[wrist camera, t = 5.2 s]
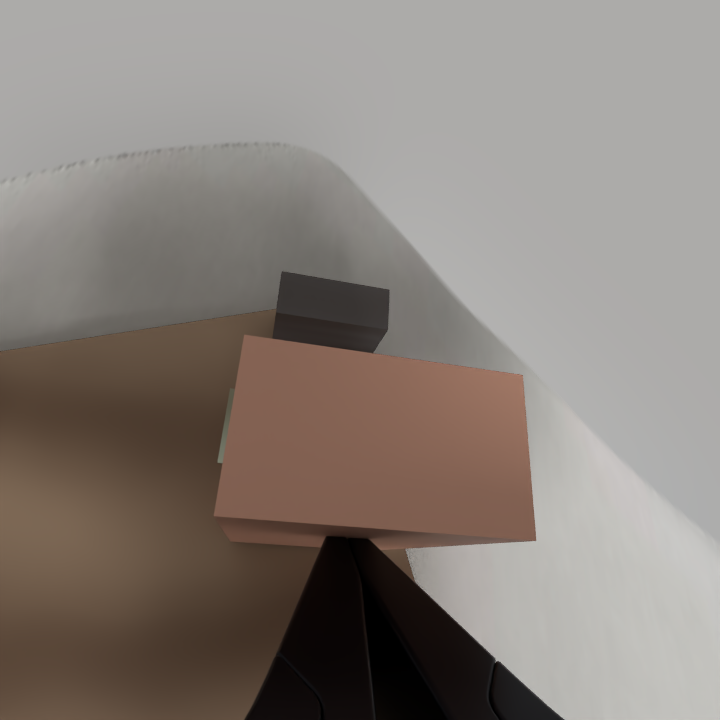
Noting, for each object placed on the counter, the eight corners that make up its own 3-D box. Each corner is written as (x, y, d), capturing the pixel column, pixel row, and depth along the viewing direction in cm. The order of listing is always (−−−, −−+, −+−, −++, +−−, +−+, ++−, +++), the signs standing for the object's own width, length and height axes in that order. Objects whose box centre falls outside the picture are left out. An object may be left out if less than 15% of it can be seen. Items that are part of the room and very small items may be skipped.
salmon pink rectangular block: (367, 550, 16) (536, 540, 7) (230, 541, 15) (213, 515, 6) (371, 473, 17) (522, 374, 8) (242, 461, 16) (244, 335, 7)
